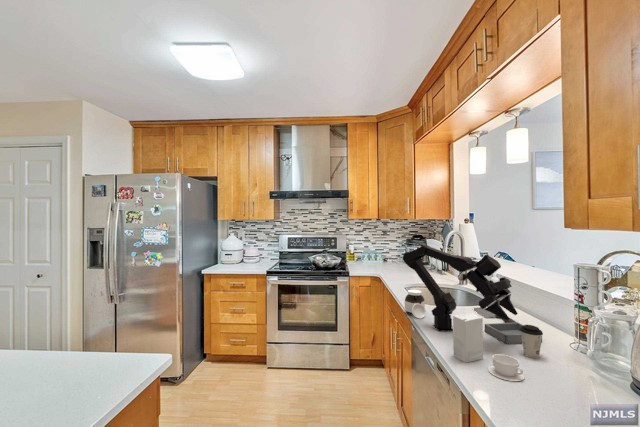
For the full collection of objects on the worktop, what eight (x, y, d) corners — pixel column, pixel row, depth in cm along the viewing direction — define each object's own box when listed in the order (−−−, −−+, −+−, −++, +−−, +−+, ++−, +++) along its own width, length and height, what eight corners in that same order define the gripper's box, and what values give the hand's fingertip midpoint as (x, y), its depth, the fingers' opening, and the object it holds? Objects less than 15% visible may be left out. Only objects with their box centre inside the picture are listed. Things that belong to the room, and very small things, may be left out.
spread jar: (414, 310, 159) (414, 288, 159) (433, 315, 150) (433, 292, 150) (399, 314, 152) (399, 291, 152) (418, 320, 143) (418, 296, 143)
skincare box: (470, 352, 109) (469, 311, 110) (484, 359, 104) (483, 317, 104) (452, 355, 107) (452, 314, 107) (465, 363, 101) (465, 320, 101)
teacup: (481, 370, 97) (481, 356, 97) (498, 363, 101) (498, 349, 101) (513, 386, 88) (513, 370, 88) (531, 377, 93) (531, 362, 93)
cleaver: (525, 328, 133) (525, 324, 133) (504, 329, 132) (504, 324, 132) (485, 309, 162) (485, 305, 162) (468, 309, 162) (467, 305, 162)
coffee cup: (546, 361, 103) (546, 332, 103) (522, 357, 105) (522, 329, 105) (539, 352, 109) (539, 325, 109) (517, 349, 112) (517, 322, 112)
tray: (505, 344, 116) (505, 335, 116) (484, 331, 129) (484, 323, 129) (542, 342, 118) (542, 333, 118) (517, 330, 130) (517, 322, 130)
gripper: (487, 274, 110) (522, 310, 101) (504, 268, 122) (537, 300, 114) (465, 291, 116) (497, 327, 107) (484, 284, 128) (514, 316, 119)
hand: (512, 317), depth 112 cm, fingers open, 9 cm apart
